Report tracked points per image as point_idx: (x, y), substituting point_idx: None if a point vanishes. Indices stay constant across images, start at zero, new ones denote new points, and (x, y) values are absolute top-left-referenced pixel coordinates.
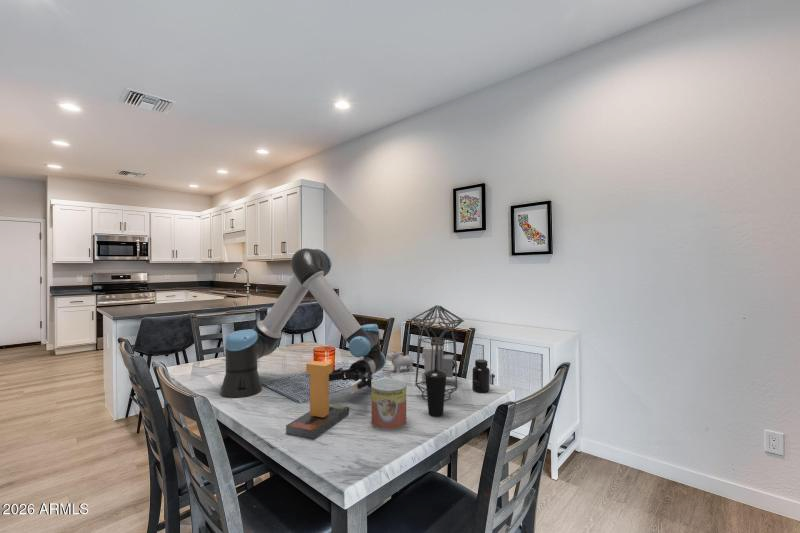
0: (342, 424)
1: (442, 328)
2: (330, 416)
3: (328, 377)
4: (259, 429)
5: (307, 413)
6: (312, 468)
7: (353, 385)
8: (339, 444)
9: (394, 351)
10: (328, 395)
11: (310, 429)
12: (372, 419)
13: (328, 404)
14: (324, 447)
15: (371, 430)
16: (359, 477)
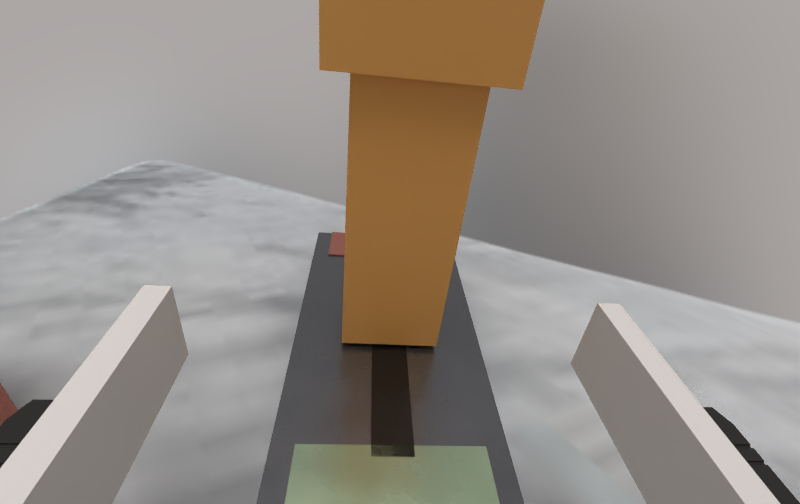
0: (253, 386)
1: None
2: (322, 335)
3: (349, 113)
4: (555, 270)
5: (468, 333)
6: (251, 183)
7: (135, 303)
8: (211, 254)
9: None
10: (345, 243)
11: (339, 233)
12: (16, 408)
13: (343, 293)
14: (260, 236)
15: (51, 372)
16: (120, 176)
